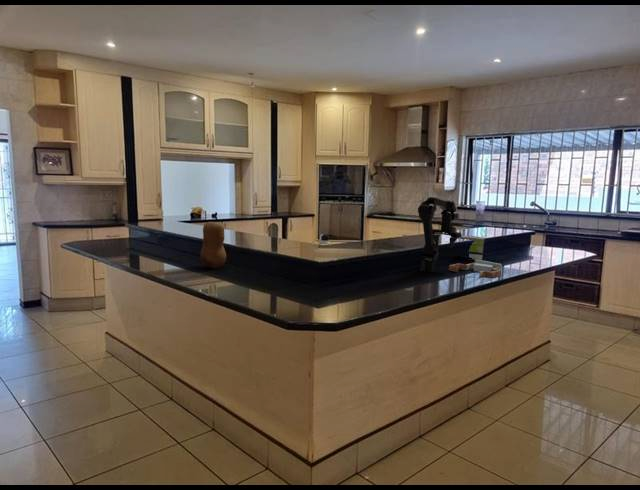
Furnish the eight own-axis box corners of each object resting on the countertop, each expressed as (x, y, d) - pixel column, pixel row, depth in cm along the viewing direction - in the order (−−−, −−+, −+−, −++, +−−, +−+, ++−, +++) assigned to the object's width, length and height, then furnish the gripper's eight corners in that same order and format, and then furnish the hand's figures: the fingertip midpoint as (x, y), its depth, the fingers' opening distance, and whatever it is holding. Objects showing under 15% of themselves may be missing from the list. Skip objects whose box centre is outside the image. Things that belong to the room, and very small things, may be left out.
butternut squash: (229, 266, 252) (229, 221, 247) (221, 271, 238) (222, 224, 234) (205, 264, 253) (205, 220, 249) (196, 269, 240) (196, 222, 236)
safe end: (499, 272, 263) (500, 264, 262) (474, 267, 275) (475, 259, 274) (500, 272, 263) (501, 264, 262) (475, 267, 275) (476, 259, 275)
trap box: (487, 278, 246) (488, 273, 245) (448, 270, 264) (449, 265, 263) (507, 273, 260) (508, 268, 260) (469, 266, 278) (469, 261, 278)
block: (491, 273, 260) (492, 267, 260) (473, 271, 265) (474, 264, 264) (492, 271, 266) (493, 265, 265) (474, 269, 270) (475, 263, 269)
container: (330, 253, 302) (330, 234, 300) (329, 255, 295) (330, 235, 293) (318, 252, 303) (319, 233, 301) (317, 254, 296) (318, 235, 293)
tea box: (458, 258, 304) (460, 236, 301) (458, 255, 313) (460, 234, 311) (482, 260, 299) (484, 238, 297) (481, 257, 309) (483, 236, 306)
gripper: (467, 222, 266) (465, 248, 268) (440, 219, 279) (438, 244, 282) (457, 223, 258) (454, 250, 261) (429, 220, 272) (427, 245, 275)
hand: (443, 247), depth 270 cm, fingers open, 9 cm apart
